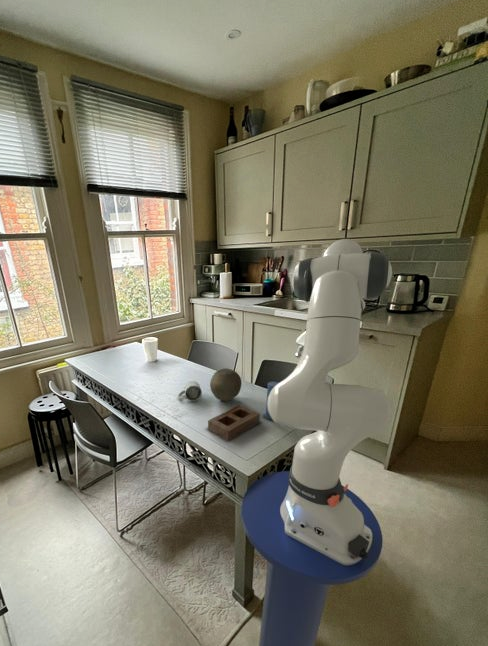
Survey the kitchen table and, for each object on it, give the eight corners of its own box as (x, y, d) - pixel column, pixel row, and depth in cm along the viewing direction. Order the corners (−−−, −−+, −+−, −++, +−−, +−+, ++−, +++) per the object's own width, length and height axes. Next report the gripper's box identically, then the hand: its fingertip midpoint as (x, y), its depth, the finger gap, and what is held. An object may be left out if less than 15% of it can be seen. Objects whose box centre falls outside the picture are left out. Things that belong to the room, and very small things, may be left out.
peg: (278, 417, 129) (282, 383, 122) (272, 421, 126) (275, 387, 120) (269, 413, 132) (272, 380, 125) (262, 417, 129) (265, 383, 123)
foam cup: (162, 359, 195) (160, 338, 189) (151, 363, 188) (150, 342, 183) (151, 356, 200) (149, 336, 195) (140, 360, 194) (138, 340, 189)
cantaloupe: (205, 395, 148) (205, 366, 142) (234, 391, 151) (234, 362, 145) (215, 410, 136) (215, 378, 129) (246, 405, 139) (247, 373, 132)
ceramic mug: (199, 392, 151) (199, 378, 148) (202, 400, 144) (201, 385, 140) (177, 394, 150) (176, 380, 147) (179, 402, 143) (178, 387, 140)
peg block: (259, 422, 126) (260, 413, 124) (227, 440, 115) (227, 431, 113) (239, 412, 133) (239, 404, 131) (208, 429, 122) (208, 420, 121)
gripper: (307, 322, 129) (284, 348, 130) (344, 334, 111) (317, 364, 112) (314, 331, 132) (292, 356, 133) (352, 345, 114) (325, 374, 115)
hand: (303, 360), depth 123 cm, fingers open, 8 cm apart
